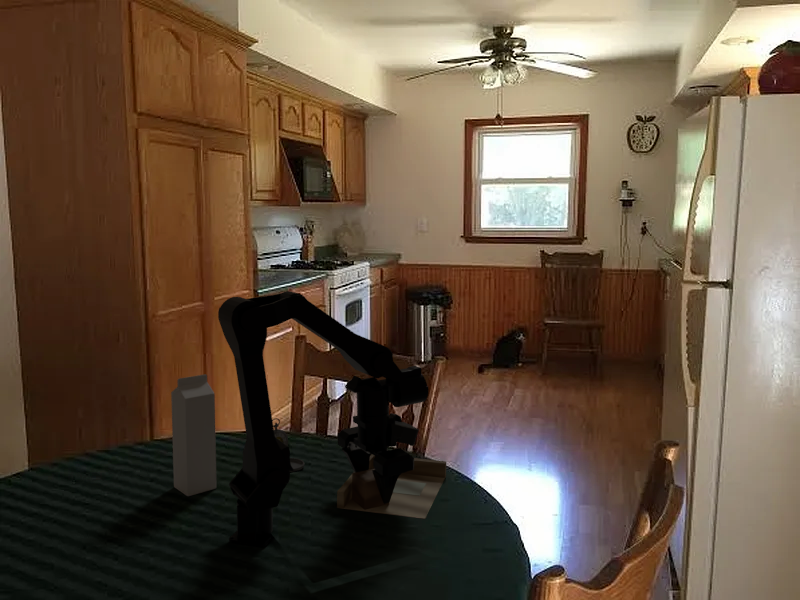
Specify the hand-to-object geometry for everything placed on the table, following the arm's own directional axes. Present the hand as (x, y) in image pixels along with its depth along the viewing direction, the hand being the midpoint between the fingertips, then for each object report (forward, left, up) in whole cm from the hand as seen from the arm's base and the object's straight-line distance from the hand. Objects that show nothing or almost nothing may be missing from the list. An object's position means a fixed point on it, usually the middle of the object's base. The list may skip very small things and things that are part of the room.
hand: (375, 494), depth 124 cm
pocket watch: (+13, +24, -3) cm, 27 cm away
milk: (-2, +36, -3) cm, 36 cm away
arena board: (+5, -2, -2) cm, 6 cm away
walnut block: (-1, +1, -1) cm, 2 cm away
